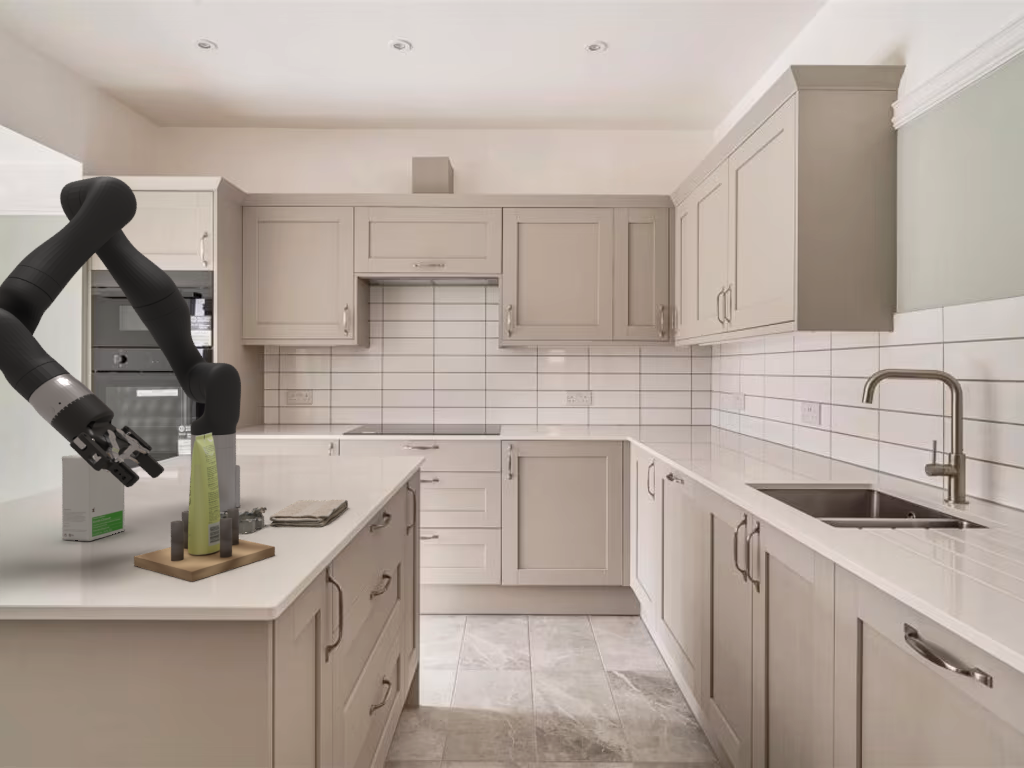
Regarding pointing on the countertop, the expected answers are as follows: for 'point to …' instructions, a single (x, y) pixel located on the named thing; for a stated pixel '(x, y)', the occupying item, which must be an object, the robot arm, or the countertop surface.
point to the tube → (204, 499)
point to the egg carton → (249, 519)
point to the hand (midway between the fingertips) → (147, 478)
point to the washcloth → (309, 513)
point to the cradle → (201, 566)
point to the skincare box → (90, 501)
